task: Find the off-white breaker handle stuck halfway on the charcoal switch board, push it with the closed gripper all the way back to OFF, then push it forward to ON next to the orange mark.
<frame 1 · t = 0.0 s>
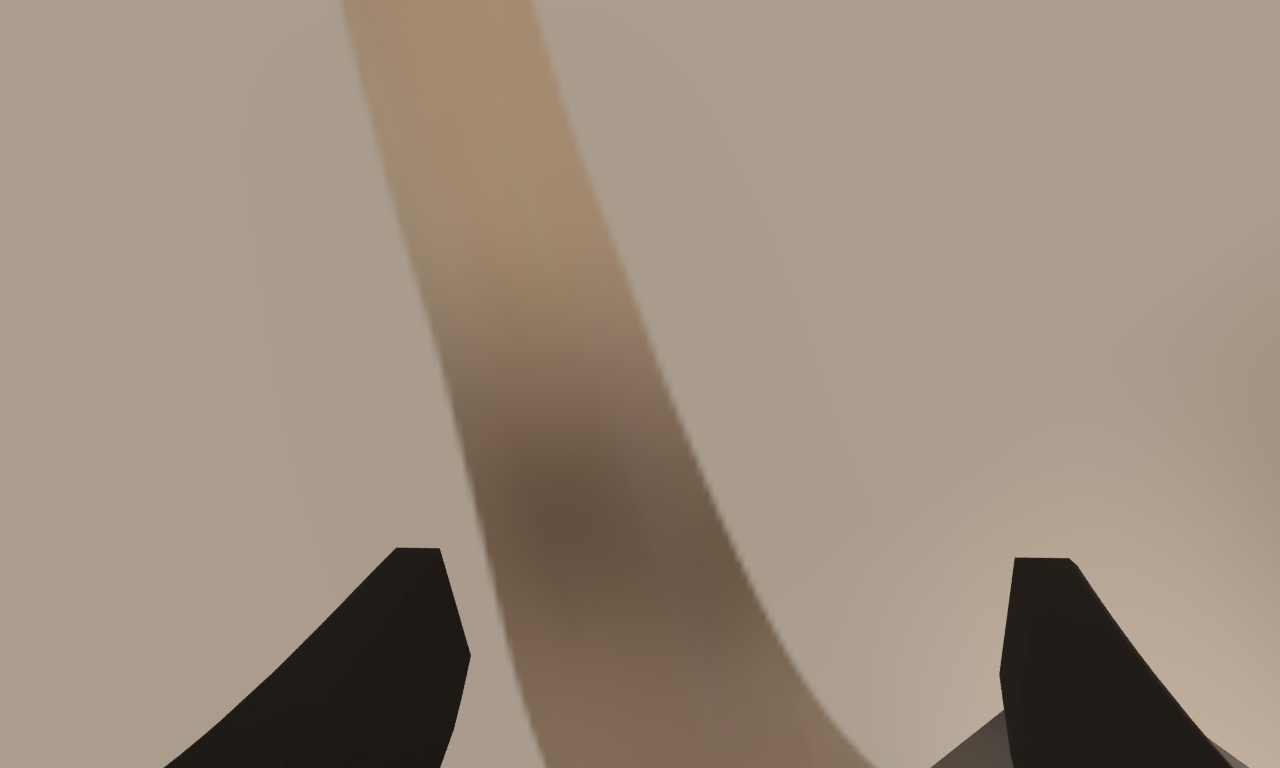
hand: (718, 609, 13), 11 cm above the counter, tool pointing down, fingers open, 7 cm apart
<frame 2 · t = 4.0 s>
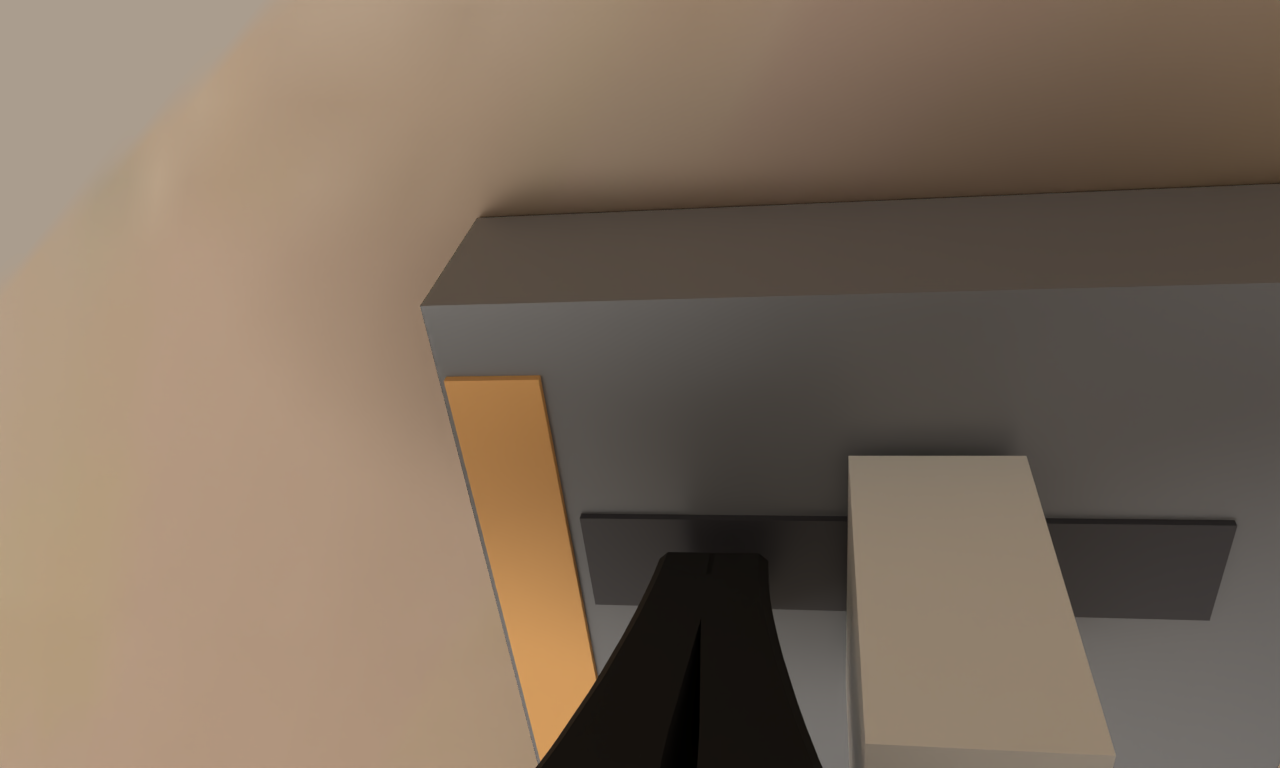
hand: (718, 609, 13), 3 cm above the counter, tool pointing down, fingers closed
tripped breaker: (945, 709, 11), point 5 cm above the counter, slide at 2.5 cm, touching gripper
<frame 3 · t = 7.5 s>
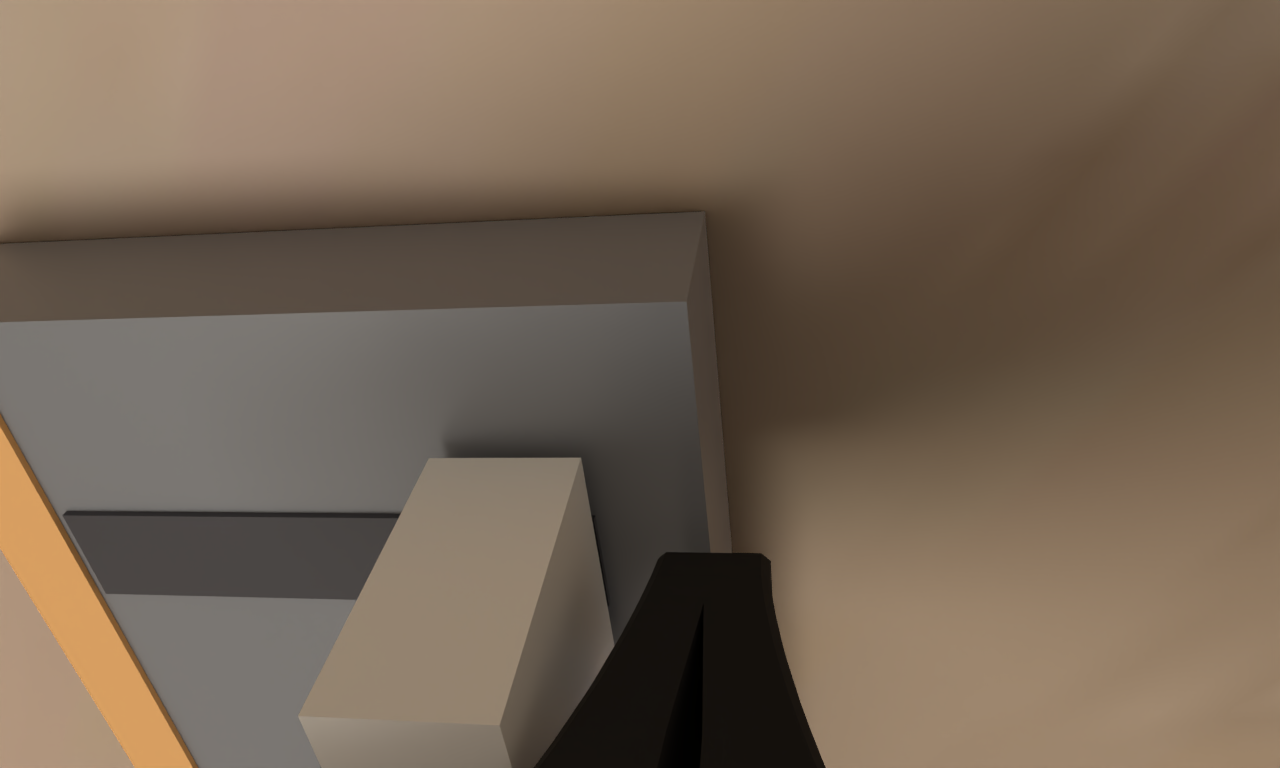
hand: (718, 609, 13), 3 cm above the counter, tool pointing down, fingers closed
tripped breaker: (492, 690, 12), point 5 cm above the counter, slide at 0.0 cm, touching gripper
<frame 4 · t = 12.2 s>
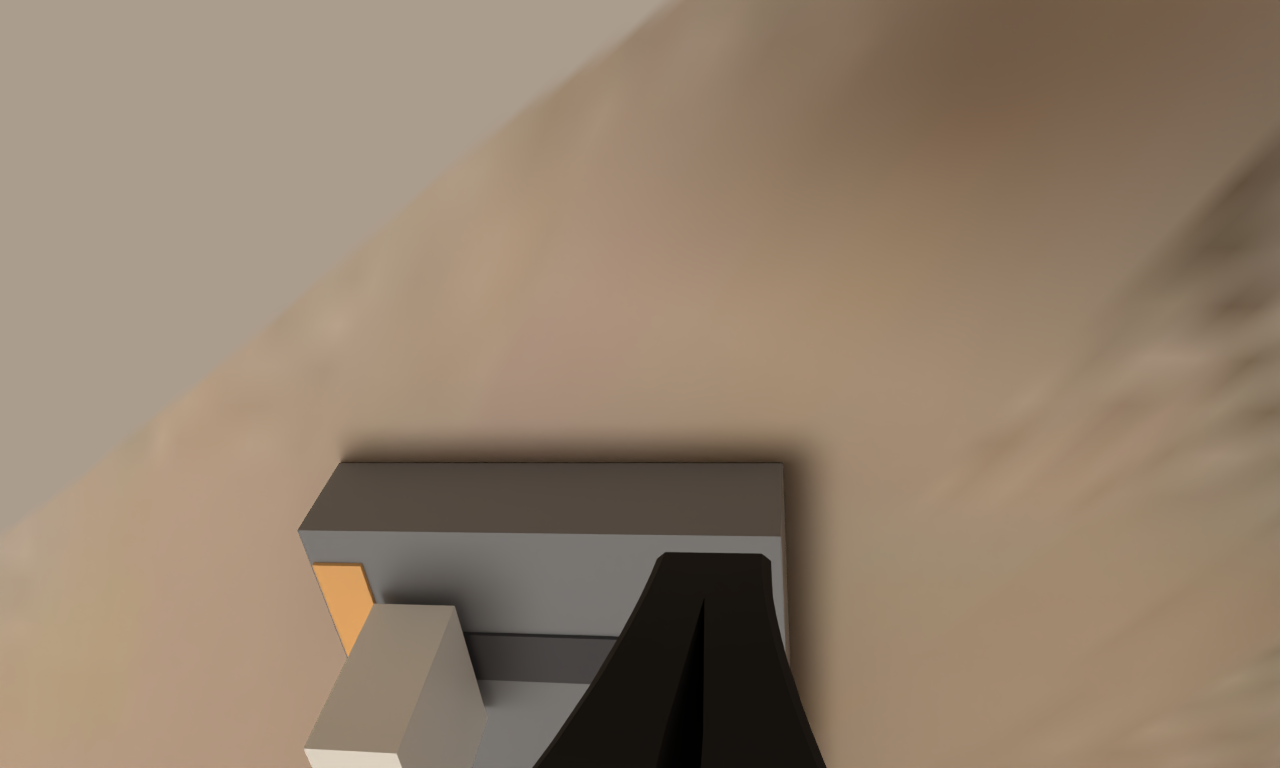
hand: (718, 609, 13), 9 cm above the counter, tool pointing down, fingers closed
tripped breaker: (405, 731, 23), point 5 cm above the counter, slide at 6.1 cm
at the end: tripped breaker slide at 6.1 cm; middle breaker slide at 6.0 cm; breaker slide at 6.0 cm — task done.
